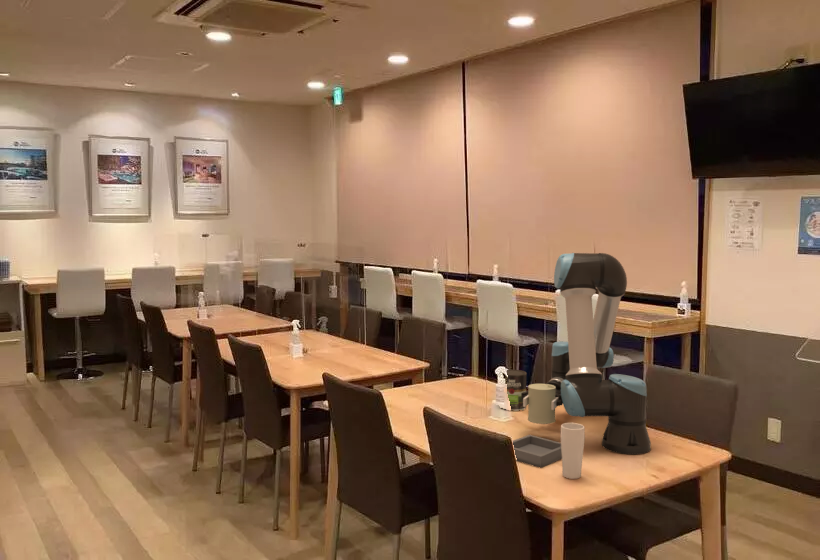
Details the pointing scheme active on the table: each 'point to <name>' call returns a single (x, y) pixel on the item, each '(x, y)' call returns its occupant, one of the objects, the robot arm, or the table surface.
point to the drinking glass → (572, 449)
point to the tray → (537, 450)
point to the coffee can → (516, 388)
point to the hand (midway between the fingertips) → (538, 404)
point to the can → (541, 403)
